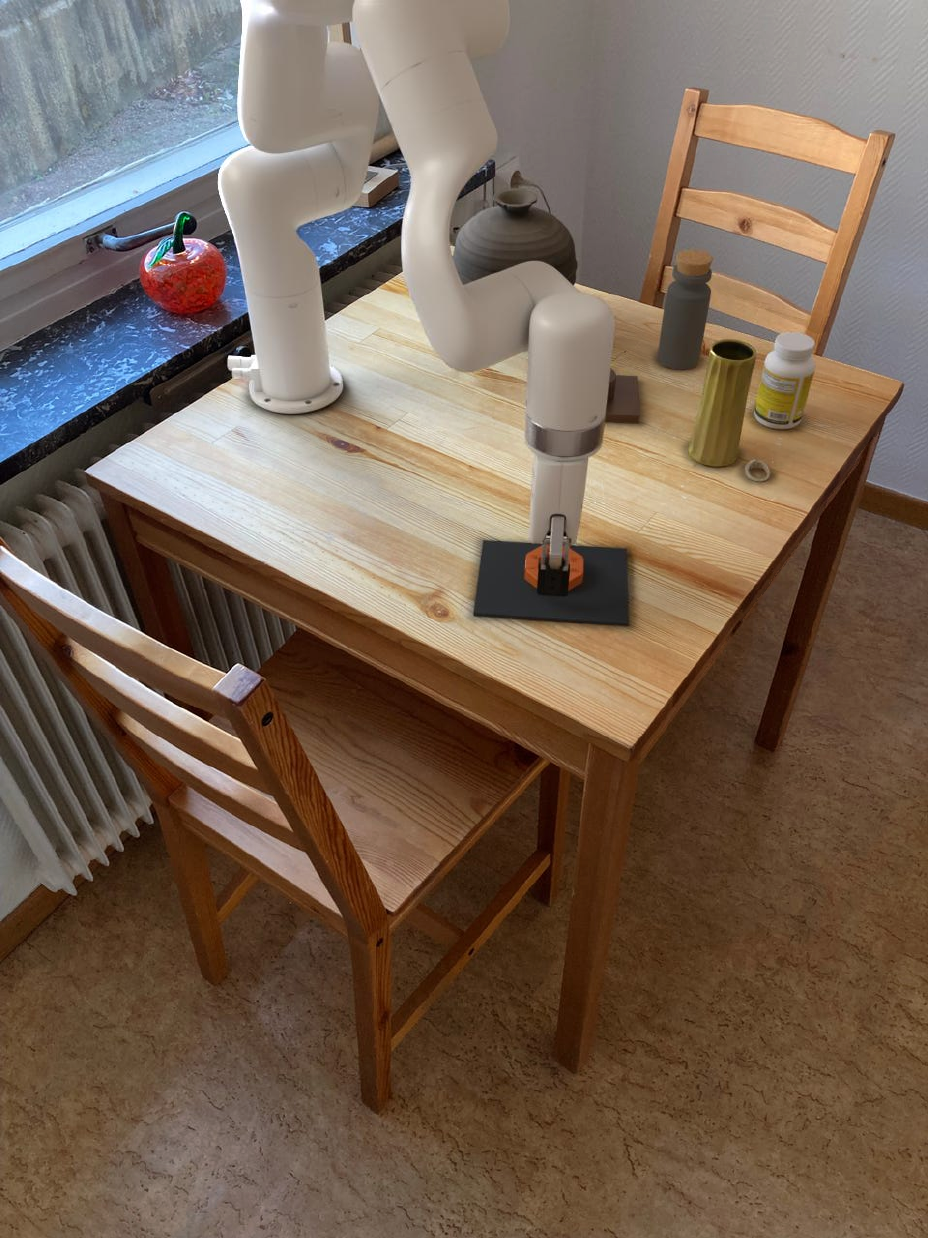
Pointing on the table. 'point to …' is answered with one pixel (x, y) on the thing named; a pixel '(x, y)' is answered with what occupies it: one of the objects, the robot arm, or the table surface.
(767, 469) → the ring
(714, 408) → the vase
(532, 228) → the pot
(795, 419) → the pill bottle
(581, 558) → the orange ring
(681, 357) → the bottle
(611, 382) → the stand
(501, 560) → the mat
